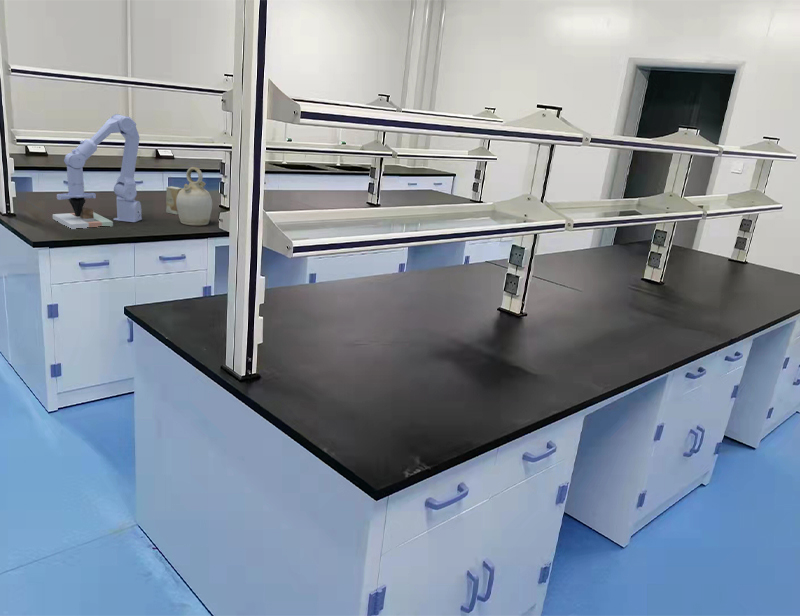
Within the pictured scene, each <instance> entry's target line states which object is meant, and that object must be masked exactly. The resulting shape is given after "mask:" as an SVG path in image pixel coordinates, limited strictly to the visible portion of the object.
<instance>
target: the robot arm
mask: <svg viewBox="0 0 800 616" xmlns="http://www.w3.org/2000/svg"><path fill="white" fill-rule="evenodd" d="M116 133H117V134H118V133H120V134H121V136H122V137H123V138H124V147H123V153H122V161H121V168H120V175H119V176H118V177H117V178H116V183H115V184H114V186H113V192H114V194H115V195H116V215H117V217H114V218H113V221H120V222H128V223H129V222H130V223H137V222H139V221H141V220H143V217H142V204H141V202H140V201H139V200H136V197H137V194H138V192H137V187H136V184H137V183H136V181H135V173H136V172H135V171H136V166H137V165H136V164H137V157H138V151H139V143H140V135H139V131H138V129H137V123H136V122H135V121H134V119H132V118H131V116H127V115H121V114H118V113H117V114H116V113H115V114H113V115H111V117H110V118H108V119H107V120H106V121H105V123H104V124H103V125H102V126H101V127H100V128H99V129H98V130H97V132H95V133H94V134H93V135H92V137H90V139H87V138H86V139H82V140H80V141H79V143H80V144H79V145H78V146H77V147H75V149H74V148H73V149H72V150H71V152H68V153H66V154H65V156H64V159H63V162H64V164H65V165H66V173H67V174H66V176H67V188H68V189H67V191H68V192H67V193H57V194H56V199H57V200H59V201H61V200H67V201H68V202H69V203H70V205H71V207H72V210H73V213H75V216H77V217H80V215H81V211H82V208H83V207H84V205H85V203H86V199H96V198H97V196H96V193H94V192H85V185H84V171H83V167H84V166H85V165H86V161H88V159H89V158H91V156H92V155H93V154H94V153H96V152H97V150H98V145H99V144H101V143H102V142H103V141H104V140H105V139H106V138H108V137H109V136H110V135H111V134H116Z"/></svg>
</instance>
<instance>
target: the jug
mask: <svg viewBox="0 0 800 616" xmlns="http://www.w3.org/2000/svg"><path fill="white" fill-rule="evenodd" d="M193 171H195V172H196V173H197V176H198V178H197V180H196V181H195V180H193V179H192V176H191V175H192V172H193ZM185 174H186V175H185V176H186V180H187V182H188V183H185V184H184V186H183V187H182V188H183V189H181V190H180V191H179V193H178V195H177V198H176V205H177V210H178V214H177V215H178V218H179V222H180V223H181V224H182V225H186V226H206V225H209V222H210V220H211V214H212V210H213V209H212V208H213V200H212V196H211V194H210V192H209V191H208V190H207V189H205V186H206V184H207V183H206V182H204V181H203V177H204V176H203V173H202V170H200V168H199V167H197V166H191V167H189V168H188V169H187V170H186V173H185Z"/></svg>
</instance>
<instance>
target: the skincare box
mask: <svg viewBox="0 0 800 616" xmlns="http://www.w3.org/2000/svg"><path fill="white" fill-rule="evenodd" d="M165 188H166V190H165V191H166V196H165V197H166V198H165V199H166V205H165V207H166V211H165V213H167V214H171V215H178V210H177V205H176V198H177V195H178V193H179V191H180V190H181V189H183V188H184V187H178V186H172V185H171V186H166V187H165Z"/></svg>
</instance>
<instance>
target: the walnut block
mask: <svg viewBox="0 0 800 616" xmlns="http://www.w3.org/2000/svg"><path fill="white" fill-rule="evenodd" d="M93 212H94V208H92V207H90V206H86V207H85V206H83V208H82V211H81V215H80V217H81V218H83V219H91V218H94V215H93Z"/></svg>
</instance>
